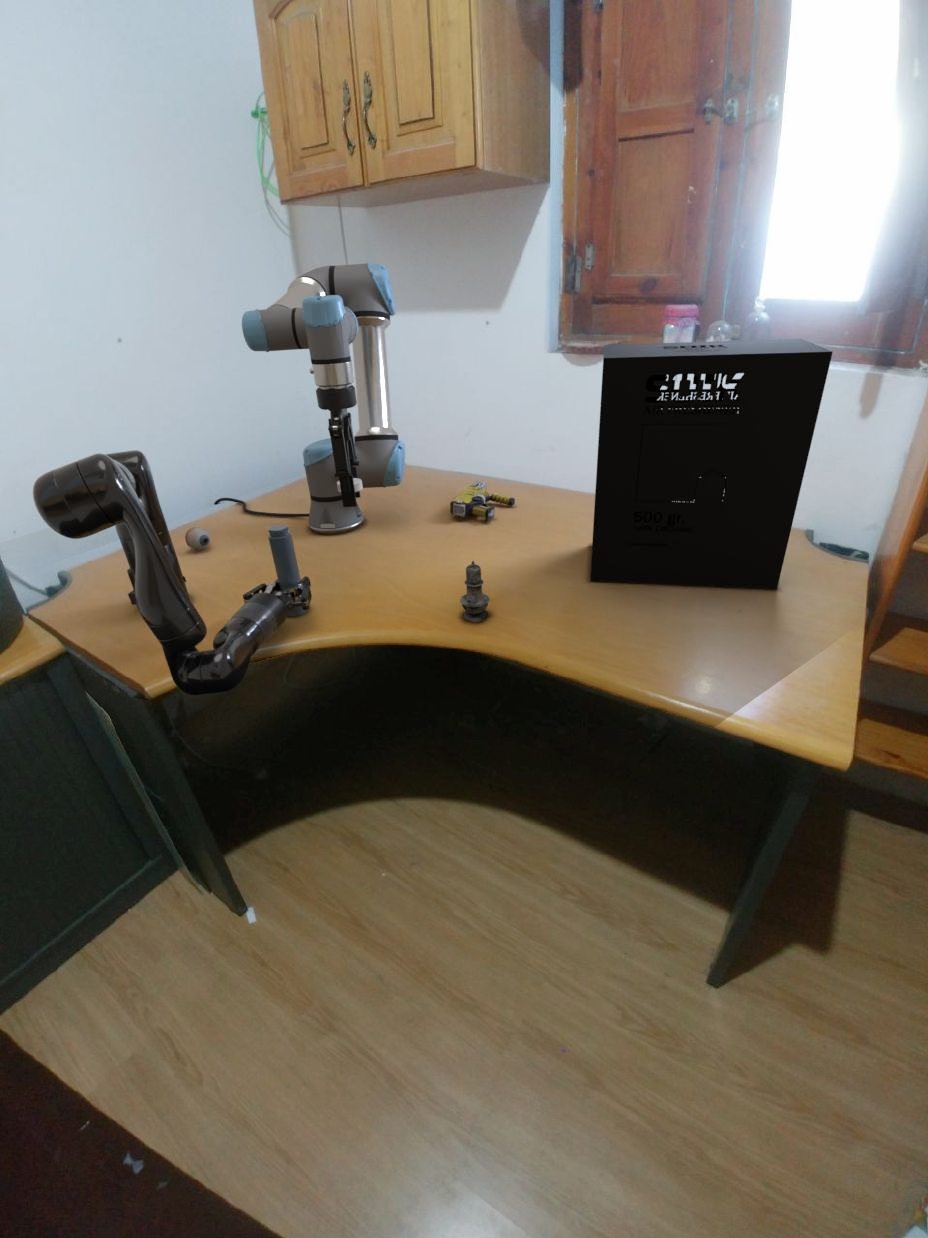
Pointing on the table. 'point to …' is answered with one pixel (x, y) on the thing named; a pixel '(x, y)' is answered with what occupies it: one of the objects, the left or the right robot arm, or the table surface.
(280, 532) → the bottle
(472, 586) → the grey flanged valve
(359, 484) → the lid
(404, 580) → the table surface
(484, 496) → the toy gun
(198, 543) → the eyeball
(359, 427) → the right robot arm
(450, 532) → the table surface
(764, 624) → the table surface
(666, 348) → the cardboard box
